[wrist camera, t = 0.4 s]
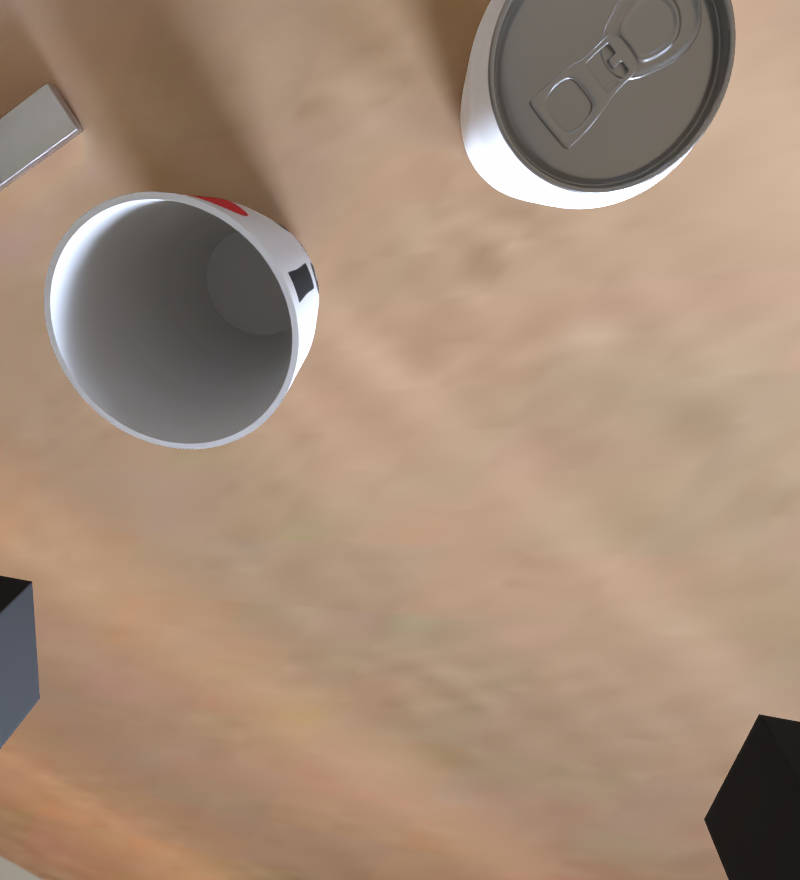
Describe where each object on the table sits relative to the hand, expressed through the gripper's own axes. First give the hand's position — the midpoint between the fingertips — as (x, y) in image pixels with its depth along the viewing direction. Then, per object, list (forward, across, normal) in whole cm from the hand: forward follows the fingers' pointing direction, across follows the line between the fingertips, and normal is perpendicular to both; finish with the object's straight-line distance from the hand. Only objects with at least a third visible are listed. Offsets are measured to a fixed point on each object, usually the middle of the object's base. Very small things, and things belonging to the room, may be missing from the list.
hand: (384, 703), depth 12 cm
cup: (+20, -8, +3) cm, 22 cm away
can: (+20, +3, +12) cm, 24 cm away
